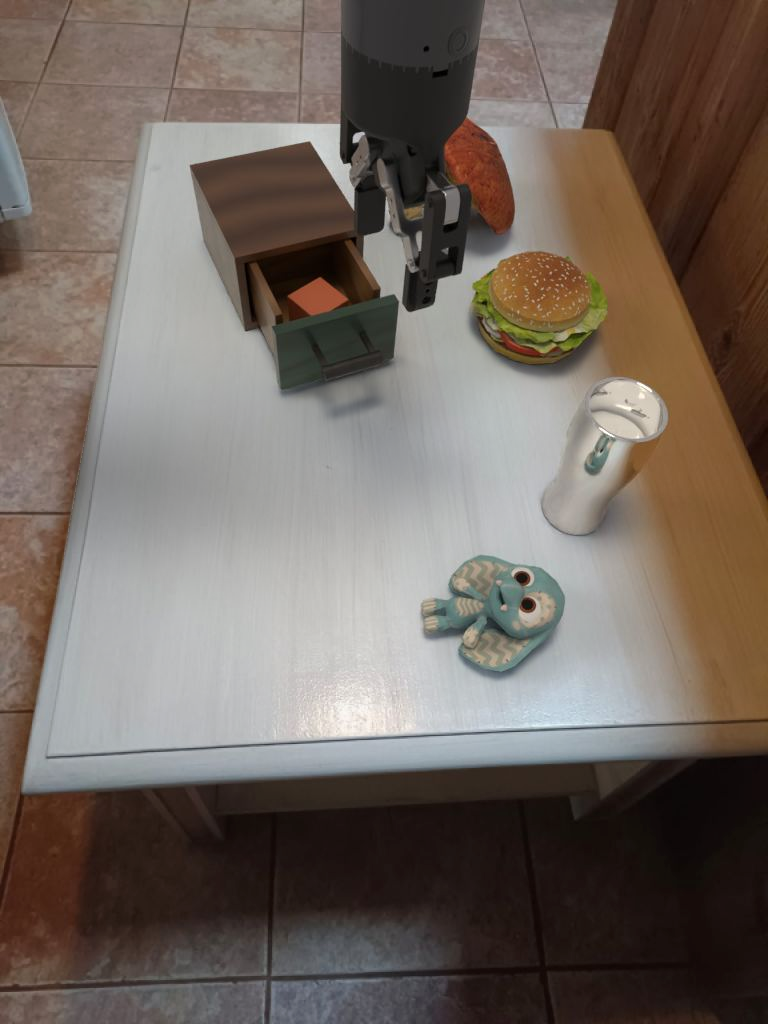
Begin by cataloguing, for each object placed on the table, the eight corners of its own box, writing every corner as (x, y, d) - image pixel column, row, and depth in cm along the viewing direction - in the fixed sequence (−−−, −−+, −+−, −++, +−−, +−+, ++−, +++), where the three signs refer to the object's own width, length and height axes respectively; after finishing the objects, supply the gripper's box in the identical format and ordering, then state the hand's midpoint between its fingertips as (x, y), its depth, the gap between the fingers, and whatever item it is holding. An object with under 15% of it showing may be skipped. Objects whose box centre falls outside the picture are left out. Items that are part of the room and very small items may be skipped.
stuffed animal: (410, 538, 60) (554, 517, 60) (418, 575, 66) (548, 556, 66) (425, 662, 55) (584, 641, 54) (432, 689, 61) (575, 671, 60)
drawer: (410, 387, 75) (417, 331, 68) (295, 421, 72) (291, 366, 65) (342, 270, 83) (343, 210, 77) (237, 296, 80) (227, 236, 74)
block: (317, 351, 75) (316, 319, 71) (289, 327, 77) (287, 295, 73) (348, 331, 77) (348, 299, 73) (320, 308, 78) (320, 276, 75)
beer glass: (550, 467, 72) (597, 362, 59) (617, 495, 70) (680, 394, 58) (526, 521, 68) (570, 422, 55) (596, 551, 67) (658, 457, 54)
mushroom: (384, 243, 81) (519, 219, 78) (364, 96, 78) (503, 65, 76) (403, 262, 96) (516, 243, 94) (386, 140, 94) (503, 116, 91)
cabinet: (361, 300, 82) (364, 227, 74) (245, 331, 79) (234, 257, 71) (312, 216, 90) (310, 140, 81) (203, 241, 86) (189, 164, 78)
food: (514, 394, 76) (531, 340, 70) (447, 308, 83) (457, 250, 76) (617, 354, 80) (643, 299, 73) (546, 275, 86) (564, 217, 80)
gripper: (297, -27, 41) (308, 220, 55) (404, 107, 35) (385, 349, 48) (416, -44, 43) (398, 198, 57) (538, 80, 36) (484, 319, 50)
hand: (392, 267), depth 53 cm, fingers open, 8 cm apart
